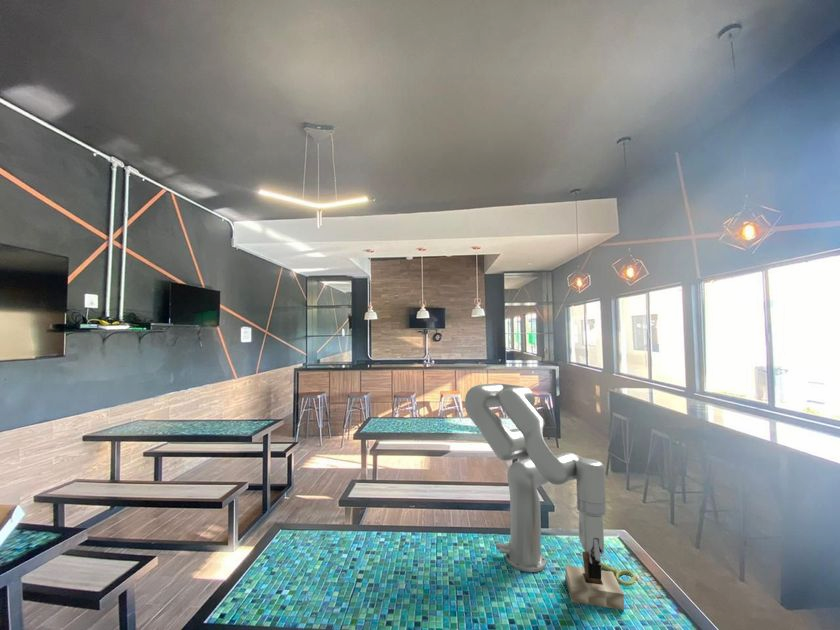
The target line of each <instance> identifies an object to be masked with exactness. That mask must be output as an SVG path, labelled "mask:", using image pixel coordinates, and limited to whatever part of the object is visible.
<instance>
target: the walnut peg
mask: <svg viewBox="0 0 840 630" xmlns="http://www.w3.org/2000/svg"><path fill="white" fill-rule="evenodd" d="M581 554H582V561H583V568H584V570H585V578H586V583H593V584H598V583H597V579H593V578H589V576H588V562H589V552H585V551H584V550H583V551H582V553H581ZM593 556H594V554H592V557H593Z"/></svg>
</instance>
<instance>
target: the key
mask: <svg viewBox="0 0 840 630" xmlns="http://www.w3.org/2000/svg"><path fill="white" fill-rule="evenodd" d="M602 568H603V569H604V570H605V571H610V572H613V573H614V575H615V578H616V580H617V582H618V584H619V585H620V584H621V585H623V586H633V585H634V584H635V583H636V582H637V578H636V575H635V573H633V572H632V571H629V570H627V569H621V570H619V571H618V570H617V569H616V568H612V567H611V566H609V565H607V564H605V563H603V562H602V561H601V569H602ZM628 574H630V575H629V576H631V575H632V576H631V577H633V579H631V581H625V580H622V579H620V576H623V575H628ZM635 581H636V582H635ZM633 583H634V584H633Z"/></svg>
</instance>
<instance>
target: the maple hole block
mask: <svg viewBox="0 0 840 630" xmlns="http://www.w3.org/2000/svg"><path fill="white" fill-rule="evenodd" d="M564 568H565V570H564V572H565V577H564V578H565V582H566V586H567V590H568V593H569V594H568V595H569V598H570V600H571V602H572V603H576V604H583V605H590V606H595V607H601V608H602V607H603V608H608V609H615V610H621V611H624V610H625V594H624V591H623V590H622V588H621V586H620V583H619V582H617V580H616V575H614V573H613V572H610V571H608V570H603V569H601V579H597V583H598V584H593V583H586V578H585V570H584V567H580V566H572V565H567V564H566V565H564Z"/></svg>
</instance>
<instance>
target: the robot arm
mask: <svg viewBox="0 0 840 630" xmlns="http://www.w3.org/2000/svg"><path fill="white" fill-rule="evenodd" d="M535 402H536V397H535V394H534V393H533V391H532V390H531V389H530V388H529V387H526V386H525V385H524V386H523V385H514V384H507V383H506V384H505V383H500V382H499V383H495V382H494V383H486V384H478V385H477V384H476V385H474V386H472V387H470V388H469V389H468V390H467V392H466V394H465V398H464V406H465V407H464V408H465V409H466V413H467V415H468V417H469V418H470V420H471V422H473V424H474V425H475V426H476V428H477V429H478V431H479V432H480V433H481V435H482V436H483V438H484V440H485V441H486V443H487V444H488V445H489V446H490V448H491V450H492V451H493V454H495V456H496V457H497V458H498V459H499V460H500V461H503V462H507V461H512V460H515V459H518V460H516V461H514V462H513V463H511V464H510V465H509V467H508V468H507V474H506V477H507V484H508V489H509V505H510V507H509V509H510V513H509V516H510V517H509V519H510V521H509V522H510V526H509V527H510V532H509V534H510V537H509V541H508V542H506V543H502V542H496V550H499V553H500V554H505V560H506V562H507V563H508V564H509V566H510V567H512V568H513V569H516V570H519V571H521V572H527V573H537V572H541V571H542V570H544V569H546V566H547V559H546V557H545V556H544V555H543V553H542V533H541V532H542V526H541V525H542V521H541V501H540V497H539V494H538V492H537V491H538V488H539V487H541V486H543V485H545V484H547V483H551V484H552V485H556V486H560V485H563V484H566V483H567V482H569V481H573V480H576V510H577V511H578V538H579V539H578V540H579V541H580V545H581V546H582V549H583V552H584V551H585V552H589V562H588V576H589V578H593V579H601V570H602V567H601V562H602V560H601V555H603V554H604V553H605V540H604V536H605V535H604V522H603V521H604V520H603V516H606V515H607V509H606V507H607V504H606V503H607V502H606V468H605V465H604V464H603V463H602V462H601V461H599V460H597V459H592V458H586V457H583V456H581V455H577V454H575V453H574V452H573V453H572V452H569V451H568V452H566V451H565V452H562V453H560V454H556V455H555V454H554V453H553V451H552V450H551V449H550V448H549V446H548V445H547V443H546V441H545V440H544V439H545V438H544V436H543V430H544V426H545V419H544V418H543V417H542V416H541V415H540V413H539V412H538V411H537V410H536V408H535V407H534V406H535ZM494 407H501V408H502V410H503V412H505V414H506V415H507V417H508V418H509V419H510V420H511V421H512V423H513V424H514V425H515V427H516V428H513V429H512V428H511V429H509V428H508V427H507V426H506V425H505V424H504V422H503V420H502V419H501V417H499V416H498V415H497V414H496V413H495V412H493V411H492V410H491V409H490V408H494ZM592 554H594V556H593V557H592Z"/></svg>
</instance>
